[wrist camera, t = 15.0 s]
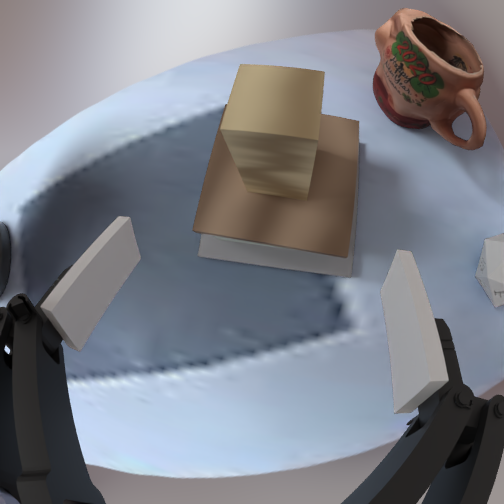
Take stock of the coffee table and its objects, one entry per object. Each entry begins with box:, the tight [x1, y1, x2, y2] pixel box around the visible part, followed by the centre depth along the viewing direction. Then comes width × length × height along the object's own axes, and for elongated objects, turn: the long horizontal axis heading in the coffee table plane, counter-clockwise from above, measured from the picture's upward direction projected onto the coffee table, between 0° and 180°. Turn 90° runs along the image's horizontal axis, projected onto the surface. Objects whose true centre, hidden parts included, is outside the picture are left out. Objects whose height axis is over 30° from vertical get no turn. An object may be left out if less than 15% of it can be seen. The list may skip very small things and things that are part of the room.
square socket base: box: [198, 143, 359, 278], centre depth 27 cm, size 16×16×6 cm
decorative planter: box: [373, 8, 486, 150], centre depth 23 cm, size 20×12×14 cm, turn 19°
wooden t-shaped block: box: [193, 64, 359, 258], centre depth 19 cm, size 13×13×11 cm
